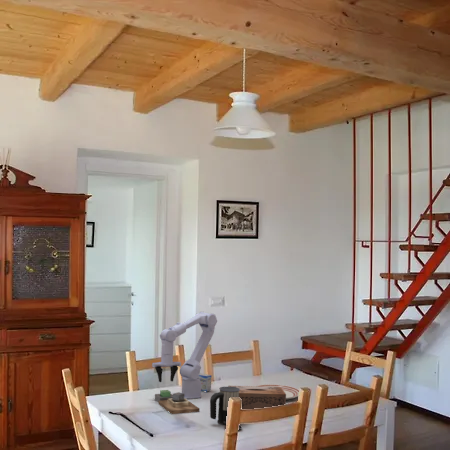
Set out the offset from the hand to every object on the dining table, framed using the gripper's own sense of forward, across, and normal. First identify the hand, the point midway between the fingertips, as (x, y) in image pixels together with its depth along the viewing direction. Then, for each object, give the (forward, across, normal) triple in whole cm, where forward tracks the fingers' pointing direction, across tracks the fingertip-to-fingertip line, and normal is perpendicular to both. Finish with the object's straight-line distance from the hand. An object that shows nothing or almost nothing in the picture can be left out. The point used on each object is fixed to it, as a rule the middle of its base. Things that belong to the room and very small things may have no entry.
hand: (165, 381), depth 287 cm
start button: (+7, 0, 0) cm, 7 cm away
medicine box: (+10, -26, -14) cm, 31 cm away
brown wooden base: (+9, -2, +14) cm, 17 cm away
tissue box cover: (+10, -36, +28) cm, 47 cm away
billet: (+8, -2, +14) cm, 16 cm away
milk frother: (+10, -14, +46) cm, 49 cm away
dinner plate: (+10, -59, +6) cm, 60 cm away
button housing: (+9, 0, 0) cm, 9 cm away
